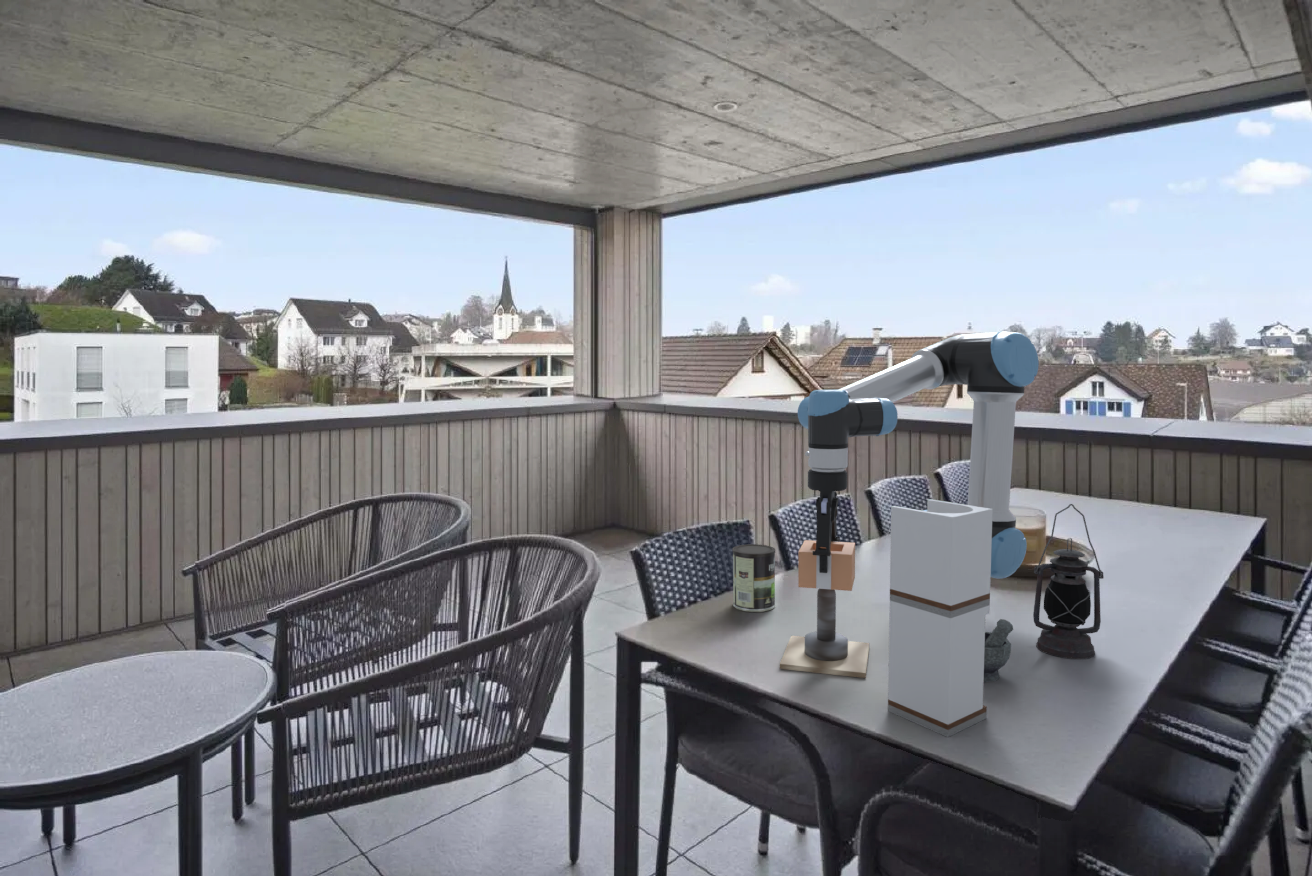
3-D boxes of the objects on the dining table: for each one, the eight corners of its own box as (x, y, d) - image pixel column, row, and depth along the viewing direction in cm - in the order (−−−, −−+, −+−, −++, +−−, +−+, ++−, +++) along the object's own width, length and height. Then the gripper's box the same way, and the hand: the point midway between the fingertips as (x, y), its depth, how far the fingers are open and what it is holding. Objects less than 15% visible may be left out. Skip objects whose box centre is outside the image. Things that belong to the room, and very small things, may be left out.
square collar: (854, 576, 155) (855, 542, 154) (851, 590, 145) (851, 554, 145) (804, 573, 158) (804, 540, 157) (798, 587, 148) (798, 551, 148)
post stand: (869, 647, 158) (870, 577, 157) (865, 678, 143) (866, 600, 142) (791, 640, 163) (791, 571, 162) (779, 668, 148) (779, 593, 147)
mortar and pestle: (942, 670, 146) (943, 608, 145) (977, 661, 150) (979, 601, 149) (990, 692, 136) (992, 626, 135) (1027, 682, 140) (1029, 618, 139)
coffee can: (776, 600, 191) (776, 544, 189) (774, 613, 181) (774, 554, 179) (734, 598, 193) (734, 543, 191) (730, 611, 183) (730, 553, 181)
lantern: (1094, 643, 159) (1100, 500, 156) (1105, 662, 149) (1112, 509, 146) (1028, 637, 163) (1033, 497, 160) (1035, 655, 153) (1040, 506, 150)
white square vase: (986, 718, 126) (992, 508, 123) (947, 736, 120) (953, 517, 117) (926, 694, 136) (930, 499, 132) (887, 710, 130) (891, 506, 126)
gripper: (814, 461, 161) (813, 565, 163) (800, 476, 140) (799, 595, 142) (851, 462, 159) (849, 567, 161) (842, 478, 138) (841, 599, 140)
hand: (826, 580), depth 152 cm, fingers closed on square collar, 10 cm apart
